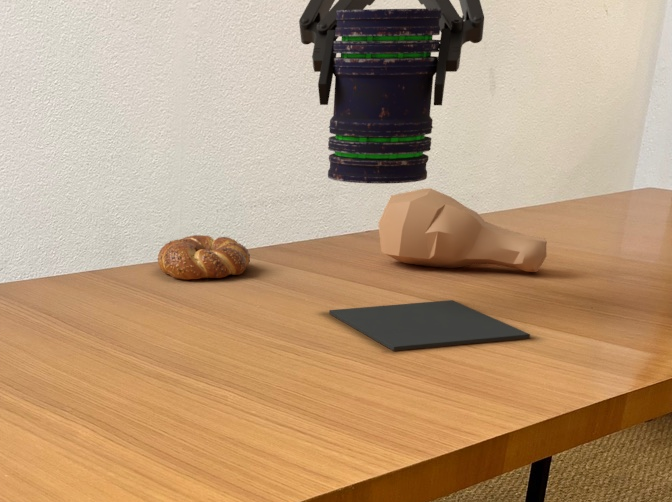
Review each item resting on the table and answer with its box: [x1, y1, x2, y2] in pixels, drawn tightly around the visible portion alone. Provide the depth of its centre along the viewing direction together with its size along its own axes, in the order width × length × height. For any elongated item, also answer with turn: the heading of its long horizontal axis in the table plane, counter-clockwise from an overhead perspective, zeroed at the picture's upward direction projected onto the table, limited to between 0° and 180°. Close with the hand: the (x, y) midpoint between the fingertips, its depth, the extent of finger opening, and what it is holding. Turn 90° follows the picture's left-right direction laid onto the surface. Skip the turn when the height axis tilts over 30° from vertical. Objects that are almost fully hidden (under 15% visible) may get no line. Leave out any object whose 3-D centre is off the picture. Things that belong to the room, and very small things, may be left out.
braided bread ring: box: [157, 234, 251, 280], centre depth 124 cm, size 12×11×4 cm
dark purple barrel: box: [327, 8, 442, 185], centre depth 101 cm, size 10×10×15 cm
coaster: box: [329, 299, 531, 352], centre depth 102 cm, size 14×14×1 cm
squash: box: [378, 187, 548, 273], centre depth 125 cm, size 11×20×9 cm, turn 66°
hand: (379, 94), depth 98 cm, fingers closed on dark purple barrel, 10 cm apart
